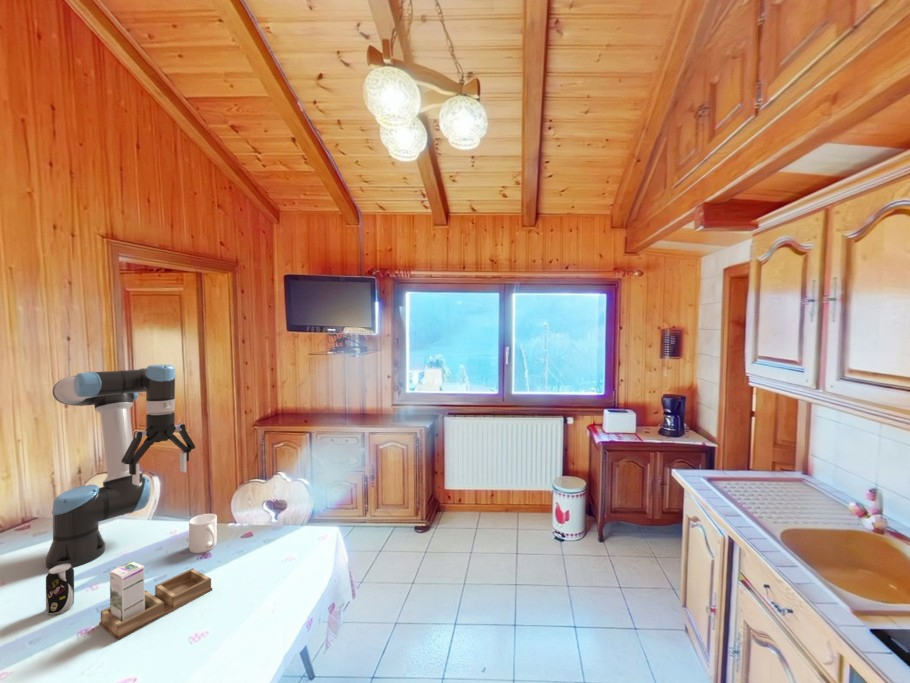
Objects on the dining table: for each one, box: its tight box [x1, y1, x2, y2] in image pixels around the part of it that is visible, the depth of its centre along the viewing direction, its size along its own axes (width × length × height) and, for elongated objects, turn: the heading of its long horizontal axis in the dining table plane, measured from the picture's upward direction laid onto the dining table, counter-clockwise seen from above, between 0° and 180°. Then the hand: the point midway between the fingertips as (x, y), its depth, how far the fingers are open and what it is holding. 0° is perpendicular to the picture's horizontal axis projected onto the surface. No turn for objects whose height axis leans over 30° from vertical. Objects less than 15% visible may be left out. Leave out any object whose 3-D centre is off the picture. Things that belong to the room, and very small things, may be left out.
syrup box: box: [109, 561, 146, 622], centre depth 111 cm, size 6×6×14 cm
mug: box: [188, 513, 218, 554], centre depth 148 cm, size 9×12×11 cm
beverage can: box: [45, 564, 75, 615], centre depth 115 cm, size 6×6×12 cm
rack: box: [98, 568, 213, 641], centre depth 118 cm, size 11×24×4 cm, turn 150°
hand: (160, 477), depth 132 cm, fingers open, 13 cm apart
